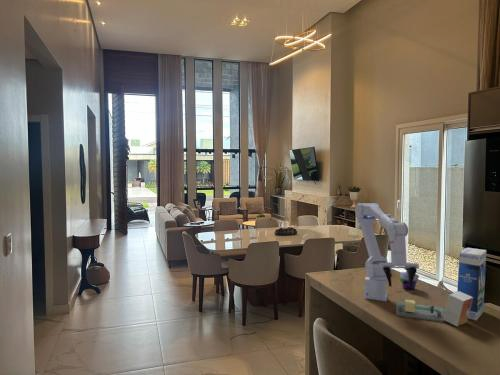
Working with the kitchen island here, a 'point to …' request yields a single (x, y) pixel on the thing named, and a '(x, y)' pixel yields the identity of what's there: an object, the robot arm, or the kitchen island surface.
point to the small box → (458, 308)
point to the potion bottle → (405, 280)
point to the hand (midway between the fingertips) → (400, 286)
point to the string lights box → (473, 278)
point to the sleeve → (409, 305)
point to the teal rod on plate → (421, 312)
